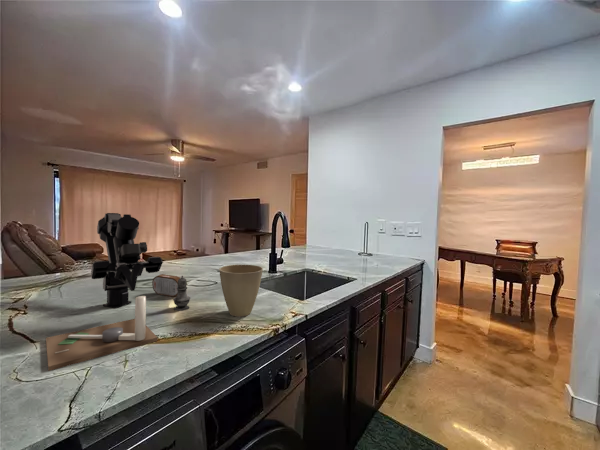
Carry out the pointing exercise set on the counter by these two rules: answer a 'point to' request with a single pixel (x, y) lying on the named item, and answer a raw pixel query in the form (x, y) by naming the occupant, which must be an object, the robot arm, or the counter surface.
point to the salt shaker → (181, 296)
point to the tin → (166, 285)
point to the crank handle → (117, 332)
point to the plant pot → (240, 287)
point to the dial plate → (90, 345)
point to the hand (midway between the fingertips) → (133, 289)
